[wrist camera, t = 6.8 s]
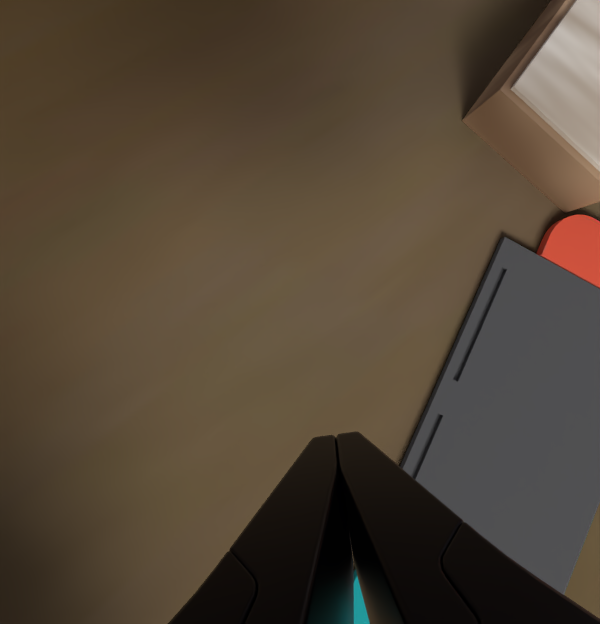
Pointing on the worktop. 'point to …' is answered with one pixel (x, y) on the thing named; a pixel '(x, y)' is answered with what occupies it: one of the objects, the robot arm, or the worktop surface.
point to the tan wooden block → (550, 105)
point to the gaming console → (522, 406)
